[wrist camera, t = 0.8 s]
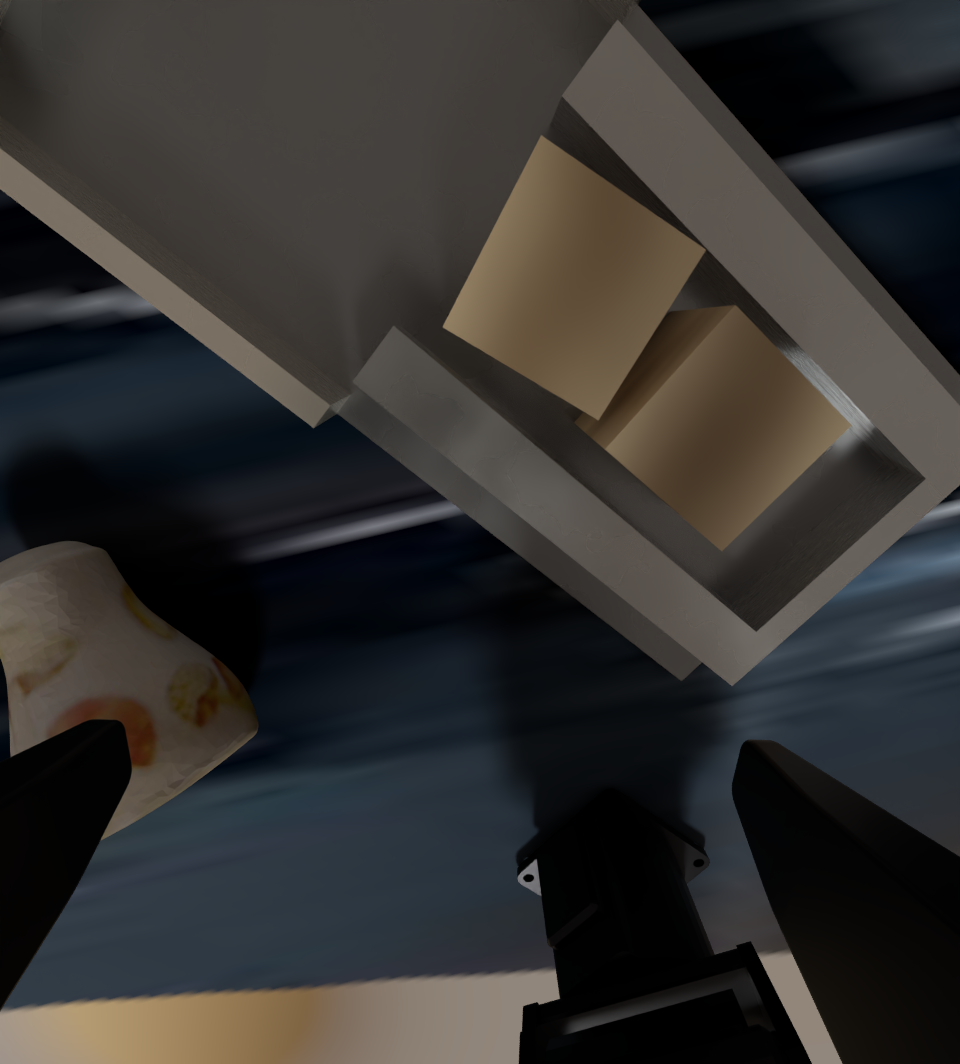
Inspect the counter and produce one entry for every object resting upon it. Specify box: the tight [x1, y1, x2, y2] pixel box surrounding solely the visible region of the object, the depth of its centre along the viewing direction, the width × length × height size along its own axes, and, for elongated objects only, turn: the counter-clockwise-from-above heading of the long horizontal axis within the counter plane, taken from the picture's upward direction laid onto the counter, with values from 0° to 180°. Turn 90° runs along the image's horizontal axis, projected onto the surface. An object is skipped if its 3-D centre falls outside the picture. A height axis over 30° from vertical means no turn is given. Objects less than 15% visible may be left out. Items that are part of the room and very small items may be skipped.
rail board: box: [0, 0, 960, 686], centre depth 16 cm, size 30×14×4 cm, turn 50°
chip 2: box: [574, 305, 852, 551], centre depth 17 cm, size 4×4×4 cm
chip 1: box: [443, 135, 706, 420], centre depth 15 cm, size 4×4×4 cm
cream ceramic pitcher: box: [0, 541, 258, 840], centre depth 19 cm, size 8×10×10 cm
